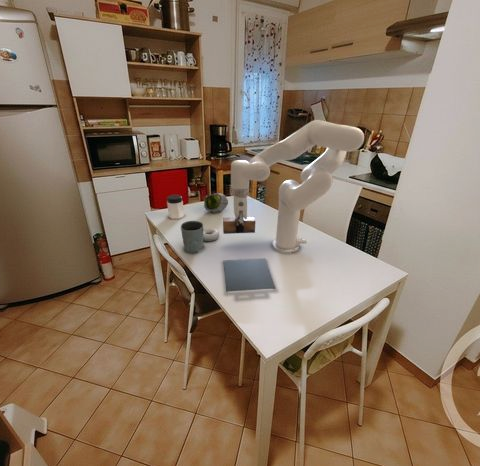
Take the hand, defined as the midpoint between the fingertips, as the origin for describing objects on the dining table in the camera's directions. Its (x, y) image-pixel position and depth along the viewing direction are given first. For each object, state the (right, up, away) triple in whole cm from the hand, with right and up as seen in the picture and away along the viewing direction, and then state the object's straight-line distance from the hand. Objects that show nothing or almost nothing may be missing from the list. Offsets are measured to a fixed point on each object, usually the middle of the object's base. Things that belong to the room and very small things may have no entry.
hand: (239, 229), depth 117 cm
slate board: (+3, -18, -14) cm, 23 cm away
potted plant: (-15, +12, +43) cm, 47 cm away
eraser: (0, -1, 0) cm, 1 cm away
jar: (-37, +8, +37) cm, 53 cm away
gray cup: (-21, -9, +5) cm, 23 cm away
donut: (-15, -4, +14) cm, 21 cm away
